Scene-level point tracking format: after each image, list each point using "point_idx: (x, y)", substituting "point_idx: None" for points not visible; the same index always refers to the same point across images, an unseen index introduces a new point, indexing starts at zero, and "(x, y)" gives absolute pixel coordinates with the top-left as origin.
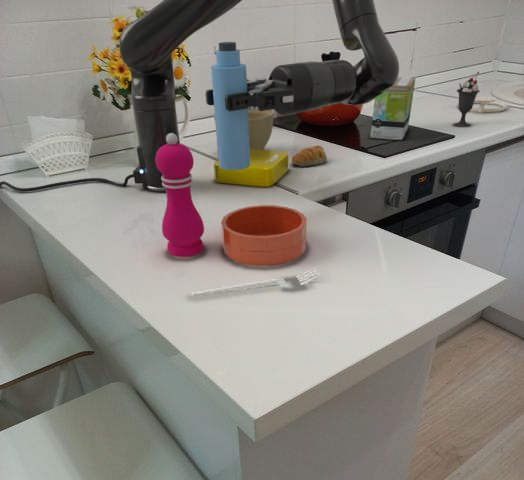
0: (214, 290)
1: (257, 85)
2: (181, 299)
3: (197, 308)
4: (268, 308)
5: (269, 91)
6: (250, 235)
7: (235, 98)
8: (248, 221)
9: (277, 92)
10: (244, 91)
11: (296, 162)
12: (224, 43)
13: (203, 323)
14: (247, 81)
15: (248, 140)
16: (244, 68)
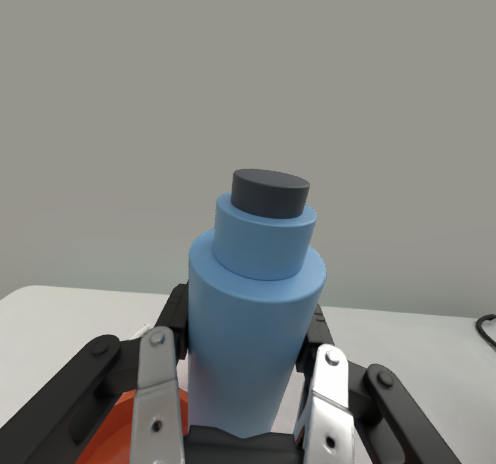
0: (128, 339)
1: (173, 391)
2: (155, 321)
3: (132, 322)
4: (54, 367)
5: (67, 396)
6: (119, 401)
7: (174, 289)
8: None
9: (4, 428)
10: (189, 327)
11: None
12: (255, 170)
13: (112, 313)
14: (333, 453)
15: None
16: (192, 273)
